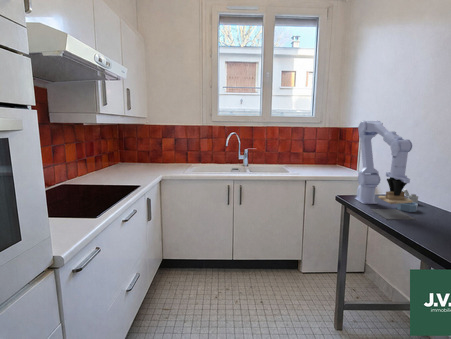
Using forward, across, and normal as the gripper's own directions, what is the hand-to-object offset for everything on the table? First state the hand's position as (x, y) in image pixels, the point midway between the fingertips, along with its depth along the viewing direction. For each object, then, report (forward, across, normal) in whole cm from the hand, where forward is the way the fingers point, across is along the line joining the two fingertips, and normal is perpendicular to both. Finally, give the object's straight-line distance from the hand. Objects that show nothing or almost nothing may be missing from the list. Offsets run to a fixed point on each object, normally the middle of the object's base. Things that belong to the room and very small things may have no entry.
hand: (394, 194), depth 123 cm
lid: (+3, 0, 0) cm, 3 cm away
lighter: (+10, +18, -20) cm, 29 cm away
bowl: (+10, +8, -12) cm, 17 cm away
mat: (+10, 0, 0) cm, 10 cm away
